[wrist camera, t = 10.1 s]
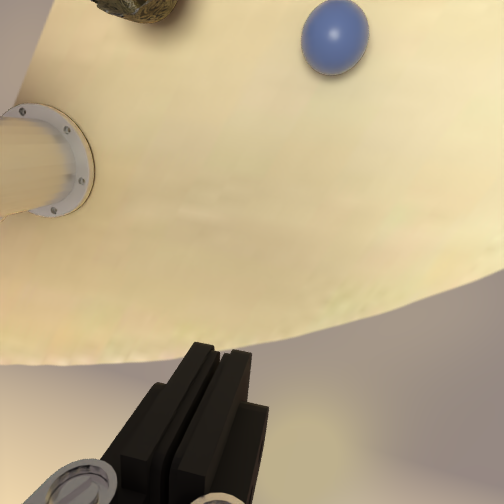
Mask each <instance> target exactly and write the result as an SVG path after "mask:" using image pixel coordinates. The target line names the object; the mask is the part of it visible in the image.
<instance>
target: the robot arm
mask: <svg viewBox="0 0 504 504" xmlns="http://www.w3.org/2000/svg"><path fill="white" fill-rule="evenodd" d="M93 178H94V164H93V159H92V154H91V151H90V148H89V145H88V143H87V141H86V139H85V137H84V135H83V133H82V132H81V131H80V129H79V128H78V127H77V125H76V124H75V123H74V122H73V121H72V120H71V119H70V118H69V117H68V116H67V115H65V114H64V113H62V112H60V111H59V110H57V109H55V108H53V107H50V106H47V105H42V104H33V103H25V104H19V105H17V106H15V107H13V108H10V109H9V110H8V111H7V112H5V113H4V114H3V115H2V117H0V222H1V221H3V220H4V219H5V218H6V217H7V215H11V214H15V213H19V212H23V211H28V212H31V213H33V214H35V215H38V216H42V217H59V216H63V215H66V214H69V213H72V212H73V211H75V210H77V209H78V208H79V207H80V206H81V205H82V204H83V203H84V202H85V201H86V199H87V197H88V196H89V194H90V191H91V188H92V185H93ZM251 360H252V353H249V352H244V351H239V350H234V349H233V350H232V351H231V353H230V354H228V353H224V355H223V357H222V359H221V361H220V352H218V351H214V346H213V345H209V344H204V343H199V342H194V343H193V345H192V346H191V348H190V349H189V351H188V352H187V354H186V355H185V357H184V358H183V360H182V362H181V363H180V364H179V366H178V368H177V369H176V370H175V372H174V374H173V375H172V377H171V378H170V380H169V381H168V383H167V384H164V383H159V382H157V383H155V384H154V385H153V386H152V387H151V389H150V390H149V392H148V393H147V394H146V396H145V397H144V398H143V400H142V401H141V403H140V404H139V406H138V407H137V408H136V410H135V411H134V413H133V414H132V415H131V417H130V418H129V420H128V421H127V422H126V424H125V425H124V427H123V428H122V430H121V431H120V432H119V434H118V435H117V436H116V438H115V439H114V441H113V442H112V443H111V445H110V447H109V448H108V449H107V451H106V452H105V453H104V455H103V456H102V458H101V459H100V460H97V459H82V460H78V461H75V462H72V463H70V464H68V465H66V466H64V467H62V468H60V469H59V470H58V471H56V472H55V473H54V474H53V475H51V476H50V477H49V478H48V479H47V480H46V481H45V482H44V483H43V484H42V485H41V486H40V487H39V488H38V489H37V490H36V491H35V492H34V493H33V494H32V495H31V496H30V497H29V498H28V499H27V500H26V501H25V502H24V503H23V504H252V500H253V495H254V491H255V485H256V481H257V476H258V471H259V467H260V462H261V457H262V452H263V446H264V441H265V434H266V427H267V420H268V412H269V407H267V406H263V405H258V404H254V403H249V402H247V397H248V388H249V379H250V369H251Z"/></svg>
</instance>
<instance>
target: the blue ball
mask: <svg viewBox="0 0 504 504" xmlns="http://www.w3.org/2000/svg"><path fill="white" fill-rule="evenodd" d="M368 40H369V25H368V21H367V18H366V16H365V14H364V12H363V10H362V9H361V8H360V7H359V6H358V5H357V4H356V3H354V2H352V1H350V0H327V1H325V2H323V3H321V4H320V5H318V6H317V7H316V8H315V9H314V10H313V11H312V12H311V14H310V15H309V17H308V18H307V20H306V22H305V24H304V27H303V30H302V36H301V46H302V52H303V55H304V57H305V59H306V61H307V63H308V64H309V65H310V66H311V67H312V68H313V69H314V70H315V71H317V72H319V73H321V74H325V75H338V74H341V73H344V72H346V71H348V70H350V69H351V68H352V67H354V66H355V65H356V64H357V63H358V61H359V60H360V59H361V57H362V56H363V54H364V52H365V50H366V47H367V44H368Z"/></svg>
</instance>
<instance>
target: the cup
mask: <svg viewBox="0 0 504 504" xmlns="http://www.w3.org/2000/svg"><path fill="white" fill-rule="evenodd" d="M91 1H93V2H95V3H97V4H98V5H97V7H98V8H99V9H101V10H103V11H104V12H107V13H108V14H111V15H115V16H118V17H121V18H124V19H127V20H130V21H133V22H138V23H155V22H158V21H160V20H162V19H164V18H165V17H166V16H167V15H169V13H170V12H171V11H172V10H173V8H174V7H175V5H176V2H177V0H91Z"/></svg>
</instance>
